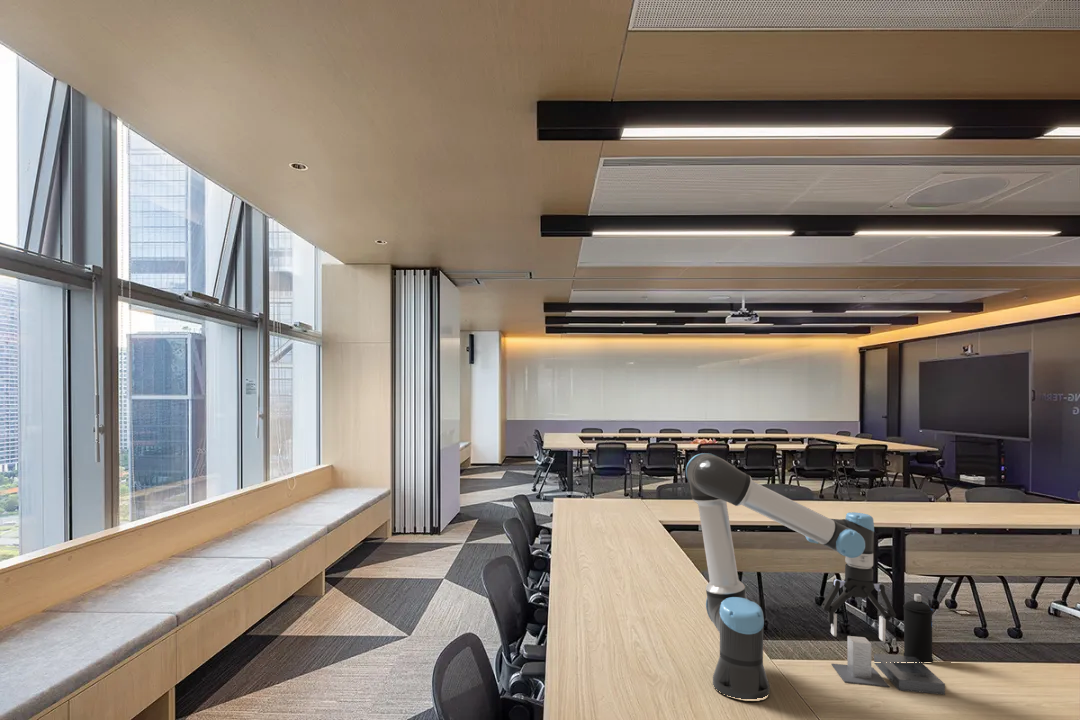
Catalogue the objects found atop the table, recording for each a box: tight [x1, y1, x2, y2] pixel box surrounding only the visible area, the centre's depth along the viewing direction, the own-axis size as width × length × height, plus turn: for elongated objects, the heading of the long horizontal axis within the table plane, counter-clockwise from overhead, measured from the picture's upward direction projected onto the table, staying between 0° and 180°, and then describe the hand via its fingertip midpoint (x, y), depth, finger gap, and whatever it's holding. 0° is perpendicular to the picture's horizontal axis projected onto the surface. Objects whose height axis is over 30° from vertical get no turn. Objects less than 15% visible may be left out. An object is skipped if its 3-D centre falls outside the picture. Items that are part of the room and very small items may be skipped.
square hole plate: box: [873, 652, 946, 696], centre depth 179 cm, size 12×18×3 cm, turn 171°
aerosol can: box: [902, 593, 934, 663], centre depth 195 cm, size 8×8×20 cm
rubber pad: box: [830, 663, 890, 688], centre depth 180 cm, size 12×12×1 cm
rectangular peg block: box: [846, 635, 872, 679], centre depth 180 cm, size 5×5×10 cm
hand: (857, 637), depth 181 cm, fingers open, 13 cm apart
